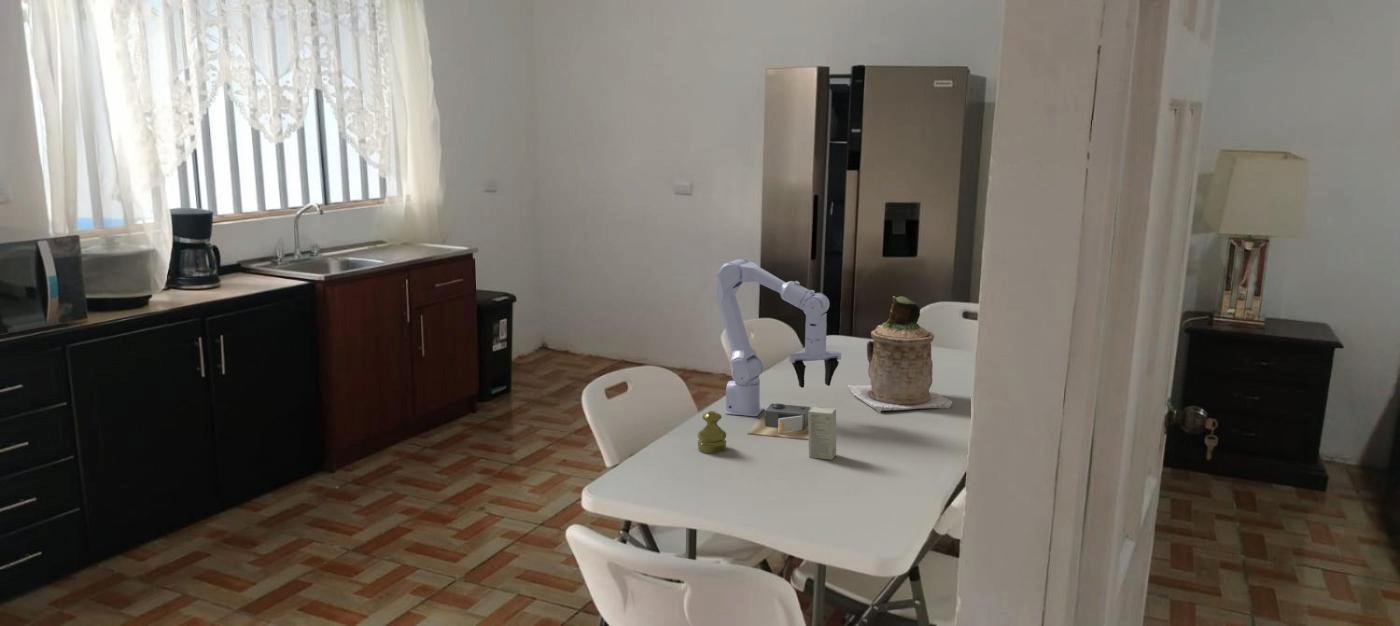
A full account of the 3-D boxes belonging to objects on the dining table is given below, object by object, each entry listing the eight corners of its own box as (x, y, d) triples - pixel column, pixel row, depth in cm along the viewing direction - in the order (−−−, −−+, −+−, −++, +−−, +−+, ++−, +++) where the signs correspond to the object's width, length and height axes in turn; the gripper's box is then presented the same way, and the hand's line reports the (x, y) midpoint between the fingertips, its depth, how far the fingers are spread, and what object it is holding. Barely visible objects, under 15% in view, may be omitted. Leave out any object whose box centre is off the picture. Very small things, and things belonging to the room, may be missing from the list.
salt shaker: (706, 456, 245) (705, 418, 242) (692, 447, 251) (692, 410, 249) (731, 451, 248) (731, 413, 246) (717, 442, 254) (717, 406, 252)
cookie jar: (955, 408, 281) (960, 300, 275) (875, 414, 276) (878, 304, 270) (919, 385, 305) (922, 285, 299) (845, 391, 300) (847, 289, 294)
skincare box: (836, 454, 244) (837, 408, 242) (831, 460, 240) (832, 413, 238) (812, 451, 247) (812, 405, 244) (807, 457, 243) (807, 410, 240)
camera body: (764, 426, 266) (765, 408, 265) (771, 418, 273) (771, 401, 272) (804, 429, 263) (804, 411, 262) (809, 422, 269) (810, 404, 268)
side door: (780, 433, 259) (780, 419, 258) (778, 432, 260) (778, 417, 259) (805, 430, 261) (805, 416, 260) (802, 428, 263) (802, 414, 262)
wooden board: (747, 434, 261) (747, 433, 261) (762, 416, 276) (762, 415, 275) (813, 440, 255) (813, 439, 255) (825, 422, 270) (825, 421, 270)
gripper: (795, 342, 261) (794, 391, 264) (845, 339, 265) (844, 387, 267) (787, 337, 268) (786, 384, 271) (836, 334, 271) (834, 380, 274)
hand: (814, 385), depth 270 cm, fingers open, 7 cm apart
